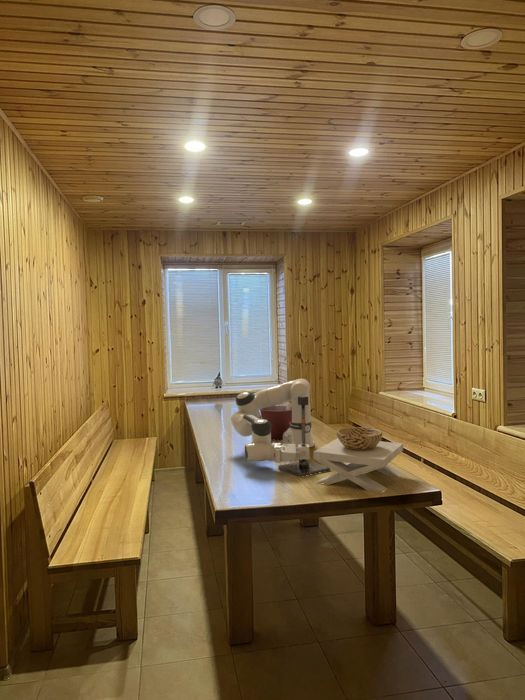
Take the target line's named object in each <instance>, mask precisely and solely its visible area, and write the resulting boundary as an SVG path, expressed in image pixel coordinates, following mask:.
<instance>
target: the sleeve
mask: <svg viewBox="0 0 525 700" xmlns="http://www.w3.org/2000/svg"><path fill="white" fill-rule="evenodd" d="M302 451H305V452H306V455H305V456H299V457H298V460H300V459H308V460H310V447H309V445H306V446H302V445H298V452H302Z"/></svg>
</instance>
